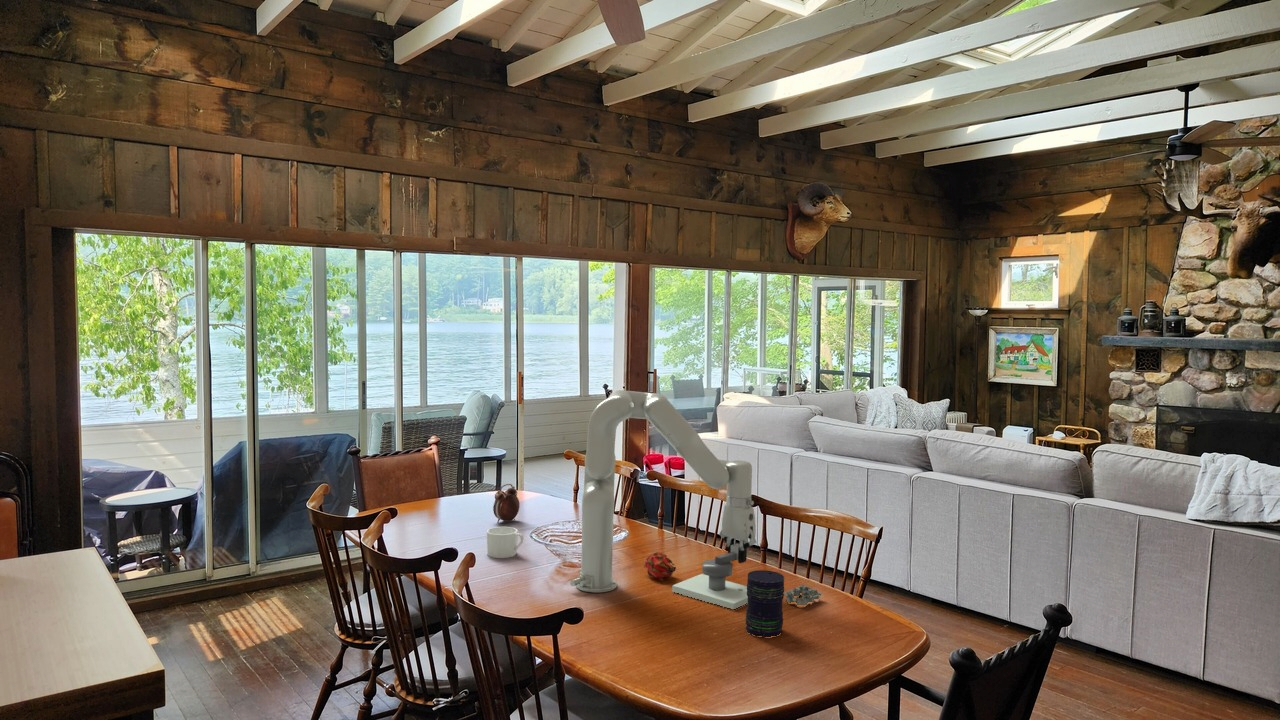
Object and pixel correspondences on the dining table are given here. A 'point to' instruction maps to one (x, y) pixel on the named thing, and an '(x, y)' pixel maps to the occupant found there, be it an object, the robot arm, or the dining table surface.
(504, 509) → the alarm clock
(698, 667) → the dining table surface
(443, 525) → the dining table surface
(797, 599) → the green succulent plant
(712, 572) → the grey lever knob
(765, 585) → the storage jar
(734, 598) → the base
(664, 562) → the dragon fruit
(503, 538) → the mug
